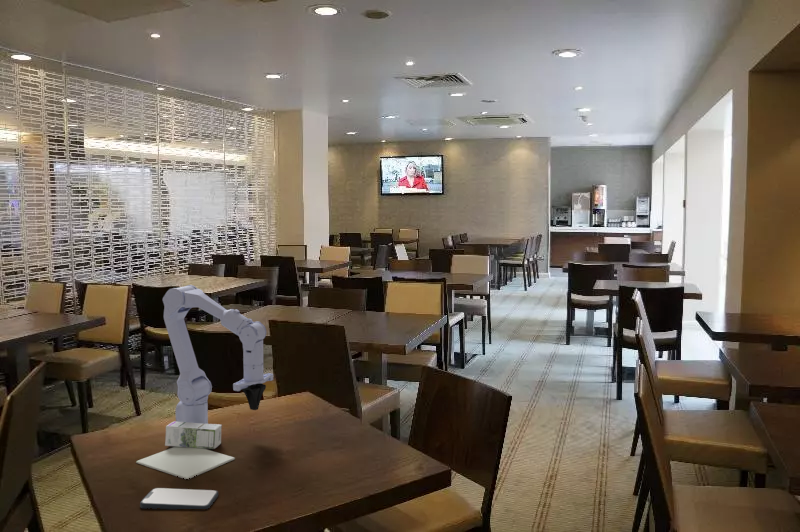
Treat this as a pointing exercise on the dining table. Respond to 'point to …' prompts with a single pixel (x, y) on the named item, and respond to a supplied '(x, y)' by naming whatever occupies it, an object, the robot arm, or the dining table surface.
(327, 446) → the dining table surface
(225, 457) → the mat
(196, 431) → the syrup box
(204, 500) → the phone case
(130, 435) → the dining table surface
